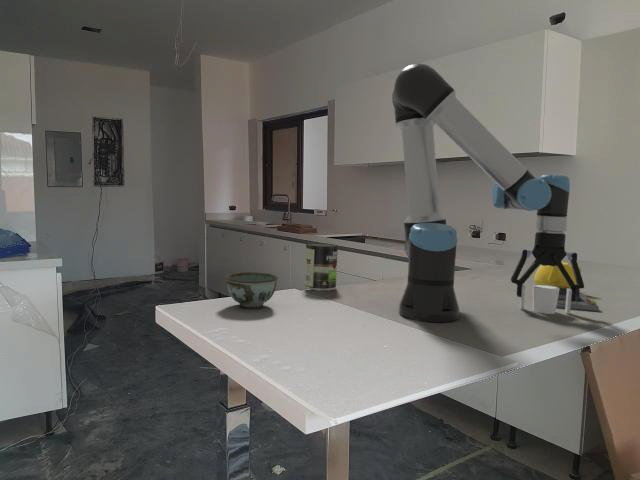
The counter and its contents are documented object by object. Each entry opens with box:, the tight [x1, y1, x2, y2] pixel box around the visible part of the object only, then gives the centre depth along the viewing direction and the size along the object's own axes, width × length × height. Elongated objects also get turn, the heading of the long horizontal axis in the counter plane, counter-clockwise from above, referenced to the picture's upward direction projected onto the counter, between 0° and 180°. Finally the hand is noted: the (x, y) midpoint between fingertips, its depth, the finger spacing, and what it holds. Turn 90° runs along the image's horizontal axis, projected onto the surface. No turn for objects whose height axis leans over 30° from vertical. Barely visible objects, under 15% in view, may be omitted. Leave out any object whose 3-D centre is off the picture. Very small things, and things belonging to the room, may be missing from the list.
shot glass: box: [531, 284, 560, 315], centre depth 134 cm, size 7×7×7 cm
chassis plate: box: [555, 286, 600, 312], centre depth 147 cm, size 18×14×4 cm
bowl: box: [225, 271, 279, 310], centre depth 127 cm, size 14×13×8 cm
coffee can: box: [304, 242, 339, 292], centre depth 156 cm, size 10×10×14 cm
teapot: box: [533, 261, 582, 287], centre depth 165 cm, size 20×15×12 cm
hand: (544, 310), depth 134 cm, fingers open, 11 cm apart
